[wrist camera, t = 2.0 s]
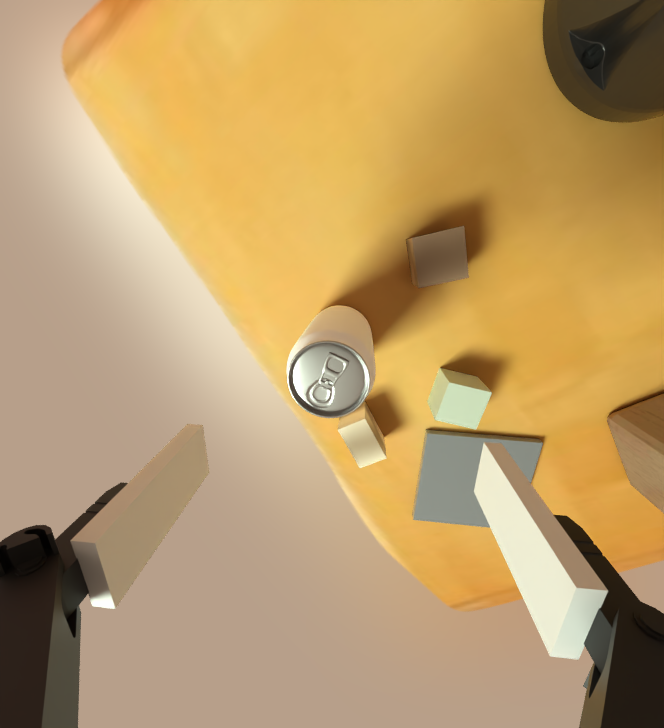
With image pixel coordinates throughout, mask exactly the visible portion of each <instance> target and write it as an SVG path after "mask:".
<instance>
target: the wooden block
mask: <svg viewBox="0 0 664 728" xmlns="http://www.w3.org/2000/svg"><path fill="white" fill-rule="evenodd" d="M607 422H608V425H609V428H610V430H611V433H612V436H613V438H614V441H615V444H616V447H617V449H618V452H619V455H620V457H621V460H622V463H623V465H624V468H625V471H626V474H627V476H628V479H629V481H630V484H631V485H632V486H633V487H634V488H635V489H637V490H638V491H639V492H640V493H641V494H642V495H643V496H645V497H646V498H647V499H648V500H649V501H650V502H651V503H653V504H654V505H655V506H656V507H657V508H658V509H659V510H661V511H662V512H663V513H664V393H663V394H661V395H658V396H656V397H653V398H650V399H648V400H645V401H643V402H640V403H637V404H635V405H632V406H630V407H627V408H624V409H622V410H619V411H616V412H614V413H612V414H611V415H610V416H608V419H607Z"/></svg>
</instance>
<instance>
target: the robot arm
mask: <svg viewBox="0 0 664 728" xmlns="http://www.w3.org/2000/svg"><path fill="white" fill-rule="evenodd" d="M543 39H544V48H545V54H546V58H547V62H548V66H549V69H550V71H551V74H552V76H553V78H554V80H555V82H556V84H557V86H558V87H559V89H560V90H561V92H562V93H563V94H564V96H565V97H566V98H567V99H568V100H569V101H570V102H571V103H572V104H573V105H574V106H576V107H577V108H578V109H580V110H581V111H583V112H585V113H586V114H588V115H590V116H593V117H595V118H598V119H602V120H606V121H611V122H636V121H642V120H647V119H651V118H655V117H658V116H661V115H663V114H664V0H545V5H544V14H543ZM208 473H209V467H208V460H207V453H206V445H205V439H204V430H203V425H193V424H187V425H186V426H185V427H184V428H183V429H182V430H181V431H180V432H179V433H178V434H177V435H176V436H175V437H174V438H173V439H172V440H171V441H170V442H169V443H168V444H167V445H166V446H165V447H164V448H163V449H162V450H161V451H160V452H159V453H158V454H157V455H156V456H155V457H154V458H153V459H152V460H151V461H150V462H149V463H148V464H147V465H146V466H145V467H144V468H143V469H142V470H141V471H140V472H139V473H138V474H137V475H136V476H135V477H134V478H133V479H132V480H131V481H130V482H129V483H120V484H118V485H116V486H115V487H113V488H111V489H110V490H108V491H106V493H104V494H103V495H102V496H101V497H100V498H99V499H98V500H97V501H96V502H95V504H93V505H92V506H90V507H89V508H88V509H87V510H86V513H83V514H82V515H81V516H80V517H79V518H78V519H77V520H76V521H75V522H73V523H72V524H71V525H70V526H69V527H68V528H67V529H66V530H65V531H64V532H63V533H62V534H61V535H60V536H59V537H58V538H57V539H55V538H54V536H53V533H52V530H51V528H50V527H48V526H46V525H36V526H32V527H28V528H25V529H23V530H20V531H18V532H16V533H13V534H12V535H10V536H9V537H7V538H5V539H4V540H2V541H1V542H0V728H78V701H79V666H80V629H81V611H80V608H79V604H80V603H81V602H82V601H83V599H84V598H85V597H86V595H87V594H89V596H90V600H91V602H92V605H93V606H96V607H104V608H114V609H115V608H116V607H117V605H118V604H119V602H120V601H121V600H122V598H123V597H124V595H125V594H126V592H127V591H128V590H129V588H130V586H131V585H132V584H133V582H134V581H135V579H136V578H137V576H138V575H139V574H140V572H141V571H142V569H143V568H144V566H145V565H146V564H147V562H148V560H149V559H150V558H151V556H152V555H153V553H154V552H155V550H156V549H157V547H158V546H159V545H160V543H161V542H162V540H163V539H164V537H165V536H166V534H167V533H168V532H169V530H170V529H171V527H172V526H173V524H174V523H175V521H176V520H177V519H178V517H179V516H180V514H181V513H182V511H183V510H184V508H185V507H186V505H187V504H188V502H189V501H190V500H191V498H192V497H193V495H194V494H195V492H196V491H197V489H198V488H199V487H200V485H201V484H202V482H203V481H204V479H205V478H206V476H207V475H208ZM474 493H475V495H476V497H477V500H478V502H479V504H480V506H481V508H482V510H483V513H484V515H485V517H486V519H487V521H488V523H489V525H490V528H491V530H492V532H493V534H494V536H495V538H496V541H497V543H498V545H499V547H500V549H501V551H502V553H503V556H504V558H505V560H506V562H507V564H508V566H509V569H510V571H511V573H512V575H513V577H514V579H515V582H516V584H517V586H518V588H519V590H520V592H521V594H522V597H523V599H524V601H525V603H526V605H527V607H528V610H529V612H530V614H531V616H532V618H533V620H534V623H535V625H536V627H537V629H538V631H539V633H540V635H541V637H542V640H543V642H544V644H545V646H546V648H547V650H548V653H549V655H550V656H552V657H561V658H570V659H579V657H580V655H581V653H582V650H583V648H584V646H585V647H586V649H587V650H588V652H589V654H590V656H591V657H592V659H593V661H594V664H593V666H592V668H591V670H590V672H589V674H588V677H587V679H586V681H585V683H584V685H583V686H584V687H585V688H586V689H587V691H586V696H585V701H584V706H583V711H582V716H581V721H580V727H579V728H664V614H663V613H661V612H660V611H658V610H657V609H656V608H653V607H651V606H649V605H647V604H645V603H642V602H640V600H639V599H638V598H637V597H636V596H635V594H634V593H633V592H632V590H631V589H630V588H629V587H628V585H627V584H626V583H625V582H624V580H623V579H622V578H621V576H619V574H618V573H617V571H616V570H615V569H614V568H613V566H612V565H611V564H610V563H609V561H608V560H607V559H606V558H605V556H603V555H602V553H601V551H600V550H599V549H598V547H597V546H596V545H594V544H593V541H592V540H591V539H590V537H589V536H588V535H587V534H586V532H585V531H584V530H583V529H582V528H581V527H580V526H579V525H578V524H576V523H575V522H574V521H573V520H571V519H570V518H569V517H567V516H561V515H553V514H552V512H551V511H550V510H549V508H548V507H547V505H546V504H545V503H544V501H543V500H542V499H541V497H540V496H539V494H538V493H537V492H536V490H535V489H534V487H533V486H532V485H531V483H530V482H529V481H528V479H527V478H526V476H525V475H524V474H523V472H522V471H521V470H520V468H519V467H518V465H517V464H516V463H515V461H514V460H513V458H512V457H511V456H510V454H509V453H508V452H507V450H506V449H505V447H504V446H503V445H502V443H491V442H484V444H483V449H482V453H481V458H480V463H479V468H478V473H477V478H476V483H475V488H474Z"/></svg>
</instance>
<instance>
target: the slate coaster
mask: <svg viewBox="0 0 664 728" xmlns="http://www.w3.org/2000/svg"><path fill="white" fill-rule="evenodd" d="M484 442H491V443H502V445H503V446H504V447H505V449H506V450H507V452H508V453H509V454H510V456H511V457H512V458H513V460H514V461H515V463H516V464H517V465H518V467H519V468H520V470H521V471H522V472H523V474H524V475H525V476H526V478H527V479H528V481H529V482H530V483H531V481H532V478H533V474H534V471H535V468H536V464H537V461H538V458H539V455H540V451H541V448H542V445H543V442H542V441H541V440H540V439H535V438H522V437H510V436H498V435H485V434H473V433H461V432H449V431H436V430H426V433H425V439H424V445H423V451H422V458H421V464H420V470H419V476H418V483H417V489H416V495H415V501H414V508H413V514H412V515H413V520H421V521H431V522H441V523H450V524H460V525H470V526H480V527H490V525H489V523H488V521H487V519H486V517H485V515H484V513H483V510H482V508H481V506H480V504H479V502H478V500H477V497H476V495H475V493H474V488H475V483H476V478H477V473H478V468H479V463H480V458H481V453H482V449H483V444H484Z"/></svg>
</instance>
